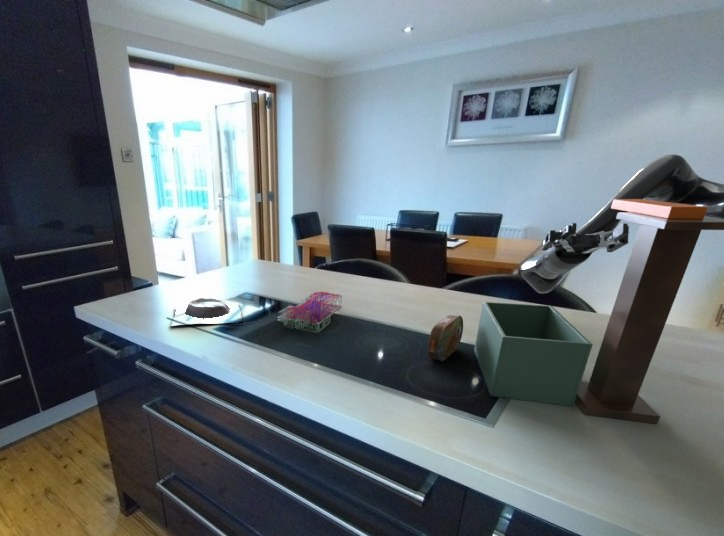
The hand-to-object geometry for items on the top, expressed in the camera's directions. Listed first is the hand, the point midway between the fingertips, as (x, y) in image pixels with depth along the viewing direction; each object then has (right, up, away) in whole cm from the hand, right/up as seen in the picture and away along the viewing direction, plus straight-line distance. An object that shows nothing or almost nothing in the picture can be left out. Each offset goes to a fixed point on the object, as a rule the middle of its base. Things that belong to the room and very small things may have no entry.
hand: (599, 227), depth 78 cm
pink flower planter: (-53, -15, +40) cm, 68 cm away
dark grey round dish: (-86, -15, +42) cm, 97 cm away
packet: (-5, -2, -16) cm, 17 cm away
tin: (-26, -26, +12) cm, 39 cm away
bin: (-16, -30, +2) cm, 34 cm away
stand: (-6, -34, -9) cm, 36 cm away
